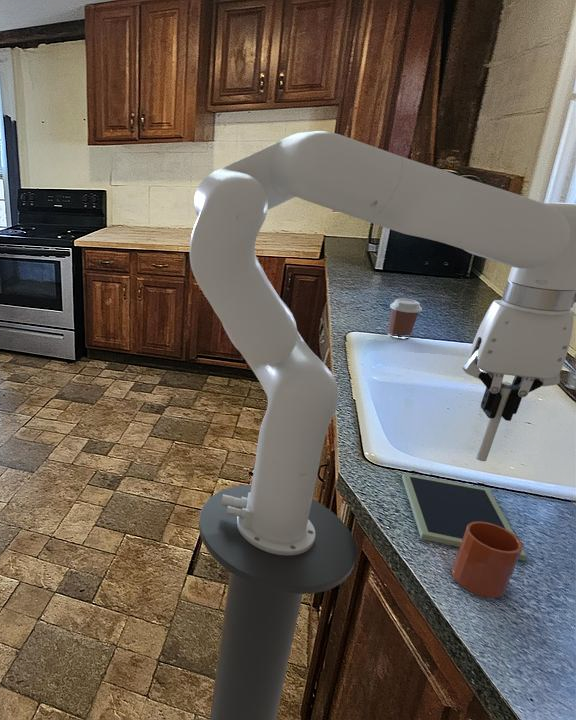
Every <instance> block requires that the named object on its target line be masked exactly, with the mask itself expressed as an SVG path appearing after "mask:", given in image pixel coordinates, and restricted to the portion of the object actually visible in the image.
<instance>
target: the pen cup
mask: <svg viewBox="0 0 576 720" xmlns="http://www.w3.org/2000/svg"><path fill="white" fill-rule="evenodd" d="M514 534H515V533H514ZM514 534H513V533H511V532H509V531H508V530H506V529H504V528H502V527H500V526H497V525H495V524H491V523H488V522H480V521H477V522H471V523H469V524H468V525H467V527H466V530H465V533H464V536H463V539H462V541H461V544H460V547H458V549H457V553H456V556H455V559H454V562H453V565H452V568H451V574H452V578H453V579H454V580H455V581H456V582H457V584H458V585H460V586H461V587H462V588H464V589H466V590H467V591H468V592H470V593H472V594H475V595H477V596H481V597H484V598H488V599H497V598H500V597H502V596H504V594H505V592H506V590H507V588H508V586H509V583H510V581H511V578H512V576H513V574H514V572H515V571H514V570H515V569H516V566H517V564H518V561H519V560H518V559H519V556H520V554H521V551H522V548H524V547H523V546H524V545H523V543H522V541H521V540H520V539H519V538H518V537H517V536H516V534H515V535H514Z"/></svg>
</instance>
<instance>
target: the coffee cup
mask: <svg viewBox="0 0 576 720" xmlns="http://www.w3.org/2000/svg"><path fill="white" fill-rule="evenodd" d="M389 308H390V309H391V312H390V316H389V317H390V318H389V326H388V333H387V336H388V337H390V336H396V335H392V334H390V333H393V334H397V335H410V336H408V337H411V335H412V333H413V329H414V327H415V324H416V321H417V319H418V315H419V313H421V312H422V310H423V307H422V306H421V305H420V301H417V300H415V299H411V298H396V299H395V300H394V301H393V302H391V303H390V304H389ZM389 332H390V333H389ZM398 337H402V336H398Z"/></svg>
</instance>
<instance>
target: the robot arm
mask: <svg viewBox="0 0 576 720" xmlns="http://www.w3.org/2000/svg"><path fill="white" fill-rule="evenodd" d="M294 198H299V199H301V200H303V201H306V202H309V203H312V204H314V205H318V206H321V207H324V208H327V209H330V210H332V211H336V212H338V213H342V214H344V215H347V216H350V217H353V218H356V219H359V220H361V221H365V222H367V223H371V224H373V225H376V226H379V227H382V228H385V229H387V230H391V231H394V232H397V233H401V234H403V235H408V236H411V237H412V236H413V237H417V238H421V239H426V240H431V241H434V242H438V243H442V244H445V245H449V246H452V247H455V248H459V249H461V250H463V251H465V252H467V253H469V254H471V255H474V256H477V257H480V258H483V259H487V260H491V261H494V262H497V263H500V264H503V265H506V266H508V267H511V268H510V271H509V274H508V277H507V280H506V284H505V287H504V289H503V293H502V296H501V298H500V299H494V300H493V301H492V303H491V304H490V306H489V308H488V309H487V311H486V313H485V314H484V317H483V319H482V321H481V322H480V325H479V327H478V329H477V332H476V334H475V337H474V339H473V342H472V344H471V347H470V350H469V354H468V355H469V356H468V357H469V359H468V360H467V361H466V363H465V364H464V365H463V367H462V370H463V371H464V373H466V374H467V375H469V376H471V377H473V378H476V379H478V380H480V381H481V382H482V383H483V385H484V386H485V390H484V393H483V397H482V399H481V402H480V408H481V409H482V412H483V413H484V414H485V416H486V417H487V419H489V418H495V416H496V413H497V410H498V407H499V405H500V402H501V399H502V395H501V394H500V390H501V389H500V388H501V384H502V382H504V381H503V379H504V376H512V377H514V378H513V380H512V382H511V384H512V385H513V386H512V389H511V392H510V394H509V397H508V400H507V403H506V406H505V409H504V412H503V414H502V417H501V418H502V419H503V420H505V421H507V422H511V421H512V418H513V416H514V415H516V414H517V413H518V411H519V407H520V405H521V402H522V399H523V398H526V397H528V395H529V394H530V393H531V392H534V391H536V390H537V389H539V388H541V387H550V386H557V385H559V384H561V371H562V369H563V367H564V364H565V361H566V358H567V355H568V353H569V348H570V345H571V340H572V335H573V331H574V330H573V329H574V319H575V312H574V311H573V310H572V308H573V307H574V304H576V203H571V202H570V203H569V202H541V201H538V200H535V199H532V198H529V197H526V196H523V195H521V194H519V193H515V192H511V191H509V190H505V189H502V188H500V187H496V186H494V185H490V184H486V183H483V182H479V181H477V180H474V179H470V178H467V177H463V176H462V175H458V174H455V173H453V172H450V171H447V170H444V169H441V168H439V167H436V166H432V165H428V164H426V163H422V162H419V161H416V160H412V159H410V158H407V157H404V156H402V155H399V154H395V153H394V152H390V151H387V150H385V149H381V148H378V147H376V146H373V145H371V144H367V143H365V142H363V141H359V140H356V139H355V138H354V139H353V138H351V137H348V136H345V135H343V134H340V133H335V132H332V131H328V130H327V131H326V130H313V131H312V130H311V131H302V132H296V133H293V134H291V135H288V136H286V137H284V138H282V139H280V140H277V141H276V142H273V143H271V144H269V145H268V146H266V147H263V148H262V149H260V150H257V151H255V152H253V153H251V154H249V155H247V156H244V157H243V158H240V159H238V160H236V161H233V162H231V163H229V164H226V165H225V166H223V167H221V168H218V169H216V170H214V171H212V172H211V173H209V174H208V175H207V176H206V177H205V178H203V179H202V181H201V182H200V183H199V184H198V187H197V188H196V191H195V194H194V199H193V203H194V210H195V213H196V215H197V219H196V220H195V223H194V225H193V228H192V232H191V236H190V242H189V263H190V268H191V271H192V274H193V277H194V278H195V281H196V283H197V286H198V287H199V288H200V290H201V292H202V293H203V295H204V296H205V298H206V300H207V301H208V303H209V304H210V306H211V308H212V309H213V311H214V313H215V314H216V316H217V317H218V319H219V321H220V323H221V324H222V327H223V329H224V332H225V333H226V335H227V337H228V339H229V340H230V342H231V344H232V345H233V346H234V347H235V348H236V350H237V351H238V352H239V353H240V354H241V356H242V357H243V359H244V360H245V362H246V363H247V364H248V366H249V367H250V369H251V370H252V372H253V374H254V375H255V376H256V378H257V380H258V381H259V383H260V386H261V387H262V389H263V391H264V393H265V395H266V397H267V407H266V410H265V414H264V416H263V419H262V421H261V423H260V428H259V432H258V437H257V444H256V445H257V447H256V453H255V460H254V466H253V472H252V473H253V474H252V481H251V485H252V486H251V492H249V493H248V498H246V497H242V499H240V498H236V497H233V496H228V495H223V497H222V504H221V505H222V506H227V507H228V509H227V514H229V515H233V516H234V515H235V516H238V517H237V526H238V529H239V531H240V533H241V535H242V536H243V537H244V538H245V539H246V540H247V541H248V542H249V543H251V544H252V545H254V546H255V547H257V548H259V549H261V550H263V551H266V552H269V553H272V554H277V555H284V556H288V555H298V554H301V553H304V552H306V551H308V550H309V549H310V548H311V547H312V546H313V544H314V541H315V535H316V534H315V529H314V527H313V525H312V523H311V522H310V520H309V519H308V518H309V513H310V508H311V503H312V499H314V492H315V487H316V484H317V478H318V473H319V467H320V464H321V459H322V458H321V457H322V454H323V453H322V452H323V448H324V444H325V440H326V436H327V434H328V429H329V427H330V424H331V421H332V419H333V417H334V415H335V413H336V411H337V407H338V403H339V399H340V393H339V387H338V383H337V381H336V378H335V376H334V374H333V373H332V371H331V370H330V368H328V366H327V365H326V364H325V363H324V362H323V361H322V359H320V358H319V356H318V355H316V353H314V351H313V350H312V349H311V348H310V347H309V345H308V344H307V343H306V341H305V340H304V338H303V337H302V336H301V334H300V332H299V330H298V327H297V326H298V325H297V321H296V319H295V317H294V314H293V313H292V311H291V309H290V308H289V307H288V305H287V304H286V303H285V302H284V300H282V298H281V297H280V295H279V294H278V293H277V290H276V289H275V288H274V286H273V285H272V283H271V281H270V279H269V278H268V276H267V274H266V272H265V271H264V268H263V266H262V265H261V263H260V262H259V260H258V257H257V254H256V241H257V237H258V235H259V232H260V230H261V228H262V227H263V224H264V222H265V221H266V218H267V214H268V211H269V210H271V209H272V208H273V209H274V208H275V207H277V206H280V205H281V204H284V203H286V202H288V201H290V200H292V199H294Z"/></svg>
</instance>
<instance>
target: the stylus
mask: <svg viewBox="0 0 576 720" xmlns="http://www.w3.org/2000/svg"><path fill="white" fill-rule="evenodd" d="M512 386H513V385H512V382H508V381H502V384H501V388H500V389H501V390H500V394H501V395H502V399H501V402H500V405H499V407H498V410H497V413H496V416H495V418H487V422H486V425H485V428H484V431H483V434H482V437H481V440H480V443H479V445H478V449H477V452H476V454H475V459H476V460H477V461H480V462H486V461H487V459H488V456H489V453H490V451H491V448H492V445H493V443H494V440H495V437H496V434H497V431H498V428H499V425H500V423H501V421H502V420H501V419H502V418H503V417H502V414H503V412H504V409H505V406H506V403H507V400H508V397H509V394H510V392H511V389H512Z"/></svg>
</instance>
